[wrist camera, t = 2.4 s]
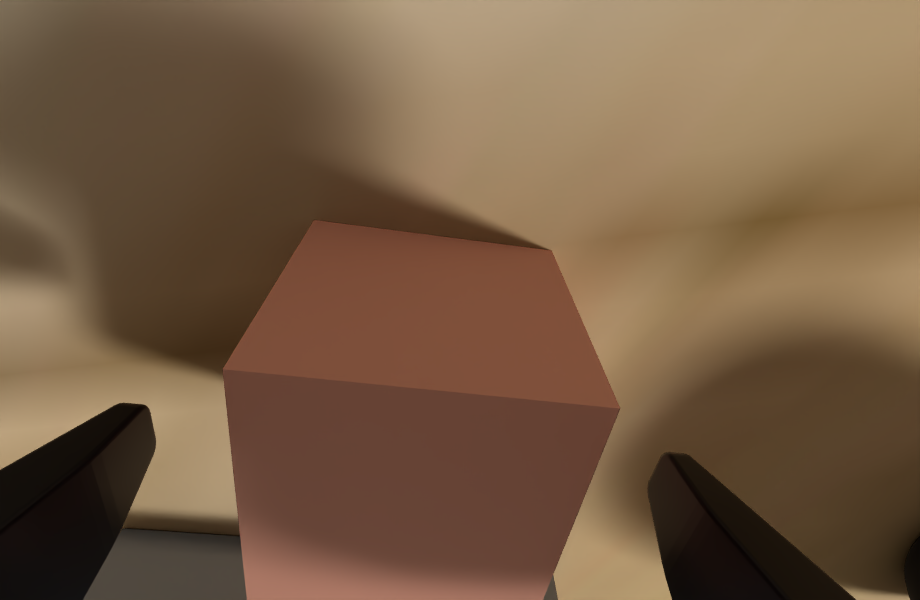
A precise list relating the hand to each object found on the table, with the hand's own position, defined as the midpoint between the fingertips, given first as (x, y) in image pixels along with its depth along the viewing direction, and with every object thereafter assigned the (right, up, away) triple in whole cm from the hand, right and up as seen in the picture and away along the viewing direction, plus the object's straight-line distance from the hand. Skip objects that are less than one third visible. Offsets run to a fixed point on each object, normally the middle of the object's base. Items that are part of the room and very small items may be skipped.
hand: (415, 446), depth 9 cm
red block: (0, +2, +3) cm, 4 cm away
